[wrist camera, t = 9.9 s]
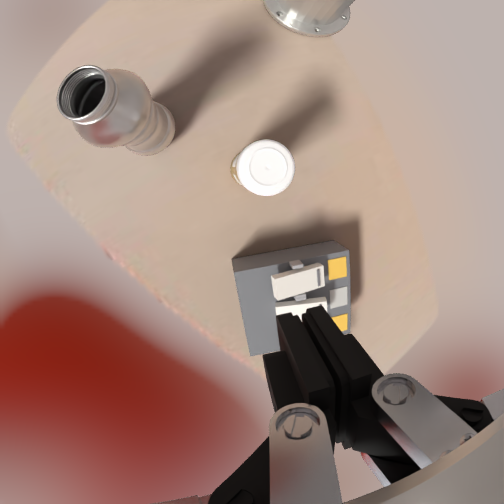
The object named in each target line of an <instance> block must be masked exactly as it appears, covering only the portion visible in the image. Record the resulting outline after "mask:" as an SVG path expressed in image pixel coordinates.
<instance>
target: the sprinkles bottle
mask: <svg viewBox="0 0 504 504" xmlns="http://www.w3.org/2000/svg"><path fill="white" fill-rule="evenodd" d="M230 171H231V175H232V177H233V179H234V180H235V181H236V182H237V183H238V184H240V185H241V186H244V187H245V188H246V189H248V190H249V191H251V192H253V193H255V194H258V195H262V196H271V195H275V194H278V193H280V192H282V191H283V190H285V189H286V188H287V187H288V186H289V185H290V183H291V181H292V179H293V177H294V173H295V162H294V159H293V156H292V154H291V153H290V151H289V150H288V149H287V148H286V147H285V146H284V145H283V144H281V143H279V142H277V141H274V140H269V139H263V140H258V141H255V142H253V143H251V144H249V145H248V146H247V147H245V148H244V149H243V151H242V152H241V153H239V154H238V155H236V157H235V158H234V159H233V161H232V163H231V168H230Z"/></svg>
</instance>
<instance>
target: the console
mask: <svg viewBox="0 0 504 504" xmlns="http://www.w3.org/2000/svg"><path fill="white" fill-rule="evenodd" d="M315 263H320V264H322V265H323V266H324V281H325V286H324V287H320V288H317V289H314V290H311V291H308V292H305V293H301V294H298V295H295V296H292V297H288V298H285V299H282V300H277V299H276V298H275V297H274V294H273V287H272V279H271V275H275V274H279V273H283V272H286V271H290V270H293V269H298V268H303V267H304V266H308V265H311V264H315ZM232 265H233V270H234V276H235V281H236V286H237V292H238V297H239V302H240V307H241V312H242V317H243V322H244V327H245V332H246V337H247V342H248V347H249V352H250V356H255V355H260V354H265V353H270V352H275V351H279V350H280V346H279V338H278V331H277V323H276V308H275V303H276V302H284V301H293V300H296V302H297V301H301V300H306V299H310V298H318V297H326V300H327V313H328V314H329V315H330V317H331V318H332V319H333V321H334V322H335V323H336V325H337V326H338V327H339V329H340V330H341V331H342V333H343V334H347V333H350V321H351V295H350V258H349V250H348V249H347V248H345V247H344V246H342V245H340V244H339V243H337V242H336V241H334V240H332V241H326V242H321V243H316V244H310V245H305V246H300V247H294V248H289V249H283V250H278V251H273V252H267V253H262V254H256V255H251V256H246V257H240V258H235V259H232Z"/></svg>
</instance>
